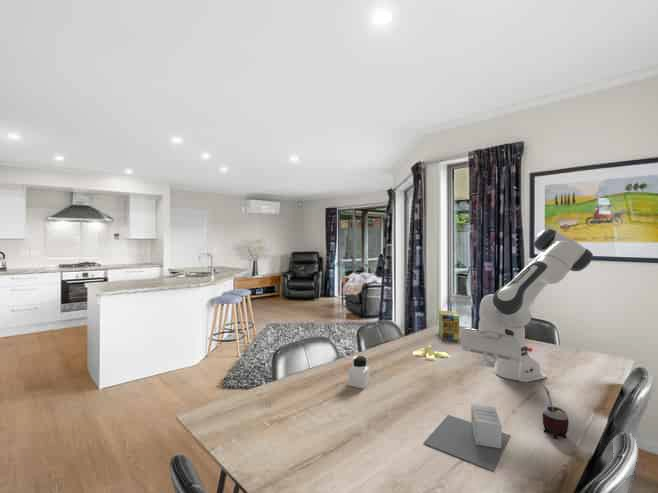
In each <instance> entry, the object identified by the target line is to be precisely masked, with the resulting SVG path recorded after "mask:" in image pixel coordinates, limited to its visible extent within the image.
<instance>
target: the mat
mask: <svg viewBox="0 0 658 493" xmlns="http://www.w3.org/2000/svg"><path fill="white" fill-rule="evenodd" d="M510 437H511V434H508V433H505V432H502V439H501V448H494V447H488V446H482V445H476V443H475V438H474V434H473V429H472V424H471V421H468V420H466V419H463V418H459V417H456V416H453V415H450V414H447V415H446V417H445V418H443V420H442V421H441V422H440V423H439V424H438V426H436V428H435V429H434V430H433V431H432V432H431V433H430V435H429V436H428V437H427V438H426V439H425V440H424V442H423V444H422V445H425V446H428V447H430V448H432V447H433V448H432V449H435V450H437V449H438V450H437V451H440V452H442V451H443V452H442V453H445V454H447V453H448V455H450V454H451V455H450V456H452V455H453V456H452V457H455V458H458V459H460V460H463V461H465V462H468V463H470V464H473V465H476V466H478V467H479V468H483V469H486V470H488V471H491V472H492V471H493V472H492V473H494V472H495V470H496V468H495V467H497V465H498V463H499V461H500V459H501V457H502V454H503V452H504V450H505V448H506V446H507V444H508V442H509V440H510ZM507 441H508V442H507ZM494 469H495V470H494Z"/></svg>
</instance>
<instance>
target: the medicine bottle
mask: <svg viewBox="0 0 658 493" xmlns="http://www.w3.org/2000/svg"><path fill="white" fill-rule="evenodd" d="M351 363H352V364H351V367H350V368H349V369H348V386H349V387H352V388H353V387H354V388H358V389H365V388H366V387H367V386H368V385H369V383H370V366H367V358H366V357H365V356H364V355H355V356H353V357H352V359H351Z"/></svg>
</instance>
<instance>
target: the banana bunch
mask: <svg viewBox="0 0 658 493" xmlns="http://www.w3.org/2000/svg"><path fill="white" fill-rule="evenodd" d="M411 357H423V358H422V359H423V360H425V361H430V362H432V361H433V362H439V360H437V359H436V358H435V357H437V358H443V359H451V356H450V355H449V354H448V353H447V352H444V351H436V350H435V349H434V348H433V347H432V346H431V345H430V344H427V345H426V346H425V347H422V348H419V349H417V350H415V351H413V352H412V354H411Z"/></svg>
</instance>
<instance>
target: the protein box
mask: <svg viewBox="0 0 658 493" xmlns="http://www.w3.org/2000/svg"><path fill="white" fill-rule="evenodd" d="M438 334H439V336H440V337H441V339H442V340H451V341H452V340H453V341H454V340H455V341H459V340H460V315H459V314H458V313H457V312H456V311H454V310H453V311H452V310H451V311H450V310H438Z"/></svg>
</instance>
